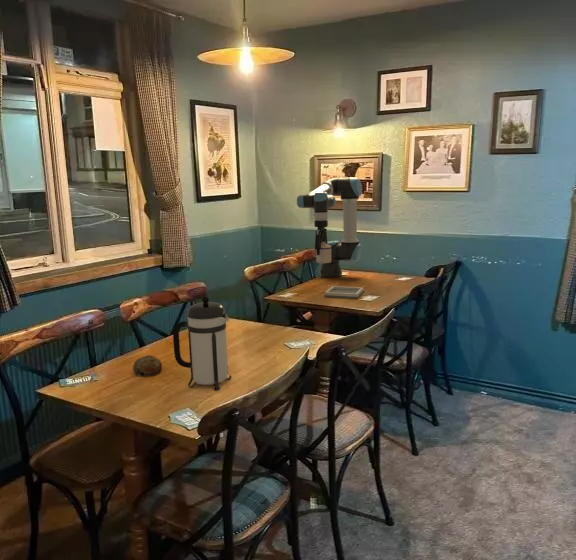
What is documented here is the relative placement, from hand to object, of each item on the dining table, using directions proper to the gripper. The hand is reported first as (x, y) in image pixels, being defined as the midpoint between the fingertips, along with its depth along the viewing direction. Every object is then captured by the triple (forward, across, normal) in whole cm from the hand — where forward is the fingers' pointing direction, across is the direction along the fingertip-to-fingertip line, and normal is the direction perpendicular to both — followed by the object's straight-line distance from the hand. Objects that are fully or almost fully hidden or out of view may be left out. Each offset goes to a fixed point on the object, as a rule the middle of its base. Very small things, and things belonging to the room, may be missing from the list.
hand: (321, 259), depth 303 cm
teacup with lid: (+2, 0, 0) cm, 2 cm away
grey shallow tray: (+20, +1, +14) cm, 24 cm away
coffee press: (+20, +140, +4) cm, 142 cm away
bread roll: (+20, +137, -22) cm, 140 cm away
